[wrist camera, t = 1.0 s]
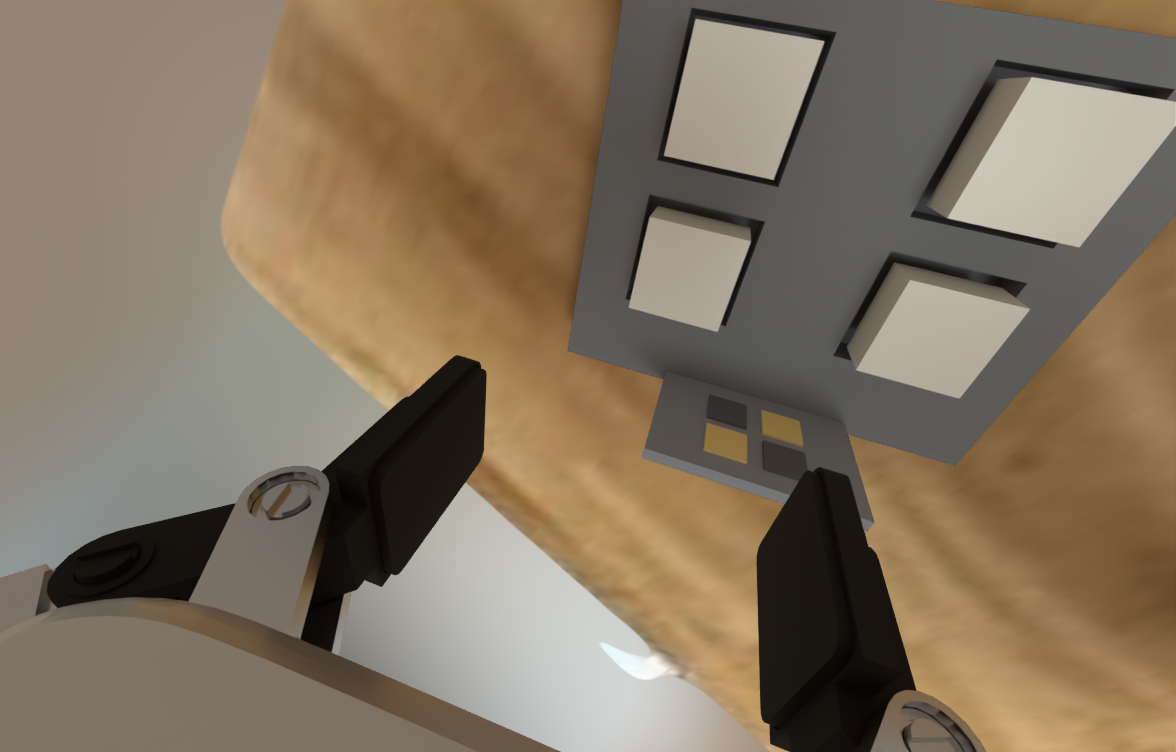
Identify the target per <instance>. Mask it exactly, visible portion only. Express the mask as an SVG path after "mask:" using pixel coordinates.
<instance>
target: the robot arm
mask: <svg viewBox="0 0 1176 752" xmlns="http://www.w3.org/2000/svg"><path fill="white" fill-rule="evenodd" d="M485 402H486V371H485V370H484V369H481V364H480V363H479V362H478V361H475V360H472V359H468V358H465V357H462V356H459V355H456V356H454V357H453V358H452V359H451V360H449V361H448V362H447V363H446V364H445V365H444V366H443V367H442V368H441V369H439V370H438V371H437V372H436V373H435V374H434V375H433V376H432V377H431V378H430V379H428V380H427V381H426V382H425V383H424V384H423V385H422V386H421V387H420V388H419V389H417V390H416V391H415V392H414V393H413V394H412V395H411V396H409V397H405V398H404V399H402V400H401V401H400V402H398V403H397V404H396V405H395V406H394V407H393V408H392V409H391V410H389V411H388V412H387V413H386V414H385V415H384V416H383V417H382V418H381V419H379V420H378V421H377V422H376V423H375V424H374V425H373V426H372V427H371V428H369V429H368V430H367V431H366V432H365V433H364V434H363V435H362V436H360V437H359V438H358V439H357V440H356V441H355V442H354V443H353V444H352V445H350V446H349V447H348V448H347V449H346V450H345V451H344V452H343V453H341V454H340V455H339V456H338V457H337V458H336V459H335V460H334V461H332V463H330V464H329V465H328V466H327V467H326V468H325V469H324V470H322V471H320V470H318V469H315V468H312V467H309V466H291V467H284V468H280V469H277V470H274V471H272V472H269V473H267V474H265V475H263V476H261V477H259V478H257V479H256V480H254V481H253V482H252V483H251V484H250V485H249V486H247V487H246V488H245V490H244V491H243V492H242V494H241V495H240V497H239V498H238V500H237V502H236V503H235V504H230V505H226V506H222V507H218V508H213V509H209V510H205V511H201V512H196V513H192V514H188V515H184V516H179V517H175V518H171V519H167V520H163V521H158V522H154V523H150V524H145V525H141V526H137V527H133V528H129V529H124V530H121V531H117V532H114V533H111V534H108V535H105V536H102V537H100V538H98V539H96V540H94V541H92V542H90V543H88V544H86V545H84V546H83V547H81V548H80V549H78V550H77V551H75V552H74V553H72V554H71V555H69V556H68V557H67V558H66V559H65V560H64V561H63V562H62V563H61V564H60V565H59V566H58V567H57V568H55V569H50V568H49V566H48V565H47V564H44V565H41V566H37V567H34V568H31V569H28V570H24V571H21V572H18V573H15V574H12V575H9V576H5V577H2V578H0V752H560V751H558V750H555V749H553V748H551V747H548V746H546V745H544V744H542V743H539V742H537V741H534V740H532V739H530V738H528V737H526V736H523V735H521V734H519V733H516V732H514V731H512V730H510V729H507V728H505V727H503V726H500V725H498V724H496V723H493V722H491V721H489V720H486V719H484V718H482V717H480V716H477V715H475V714H473V713H471V712H468V711H466V710H463V709H461V708H459V707H457V706H454V705H452V704H450V703H447V702H445V701H443V700H440V699H438V698H436V697H434V696H431V695H429V694H427V693H424V692H422V691H420V690H417V689H415V688H413V687H410V686H408V685H406V684H403V683H401V682H399V681H396V680H394V679H392V678H389V677H387V676H385V675H382V674H380V673H378V672H376V671H373V670H371V669H368V668H366V667H364V666H362V665H359V664H357V663H354V662H352V661H349V660H348V659H345V658H343V657H341V656H339V652H340V647H341V642H342V637H343V632H344V627H345V622H346V617H347V612H348V606H349V601H350V597H351V592H352V591H355V590H357V589H358V588H359V586H360V585H361V584H362V583H363V581H364V580H366V581H368V582H371V583H373V584H376V585H378V586H381V587H382V586H383V585H384V583H385V582H386V580H387V579H388V578H389V576H390V575H391V574H393V575H397V574H399V573H400V572H401V571H402V570H403V568H404V567H405V566H406V564H407V563H408V561H409V560H410V559H411V557H412V556H413V554H414V553H415V552H416V550H417V549H418V548H419V546H420V545H421V543H422V542H423V540H424V539H425V537H426V536H427V535H428V534H429V532H430V531H431V529H432V528H433V527H434V525H435V524H436V522H437V521H438V519H439V518H440V516H441V515H442V514H443V513H444V511H445V510H446V508H447V507H448V506H449V504H450V503H451V501H452V500H453V499H454V497H455V496H456V495H457V493H458V492H459V490H460V489H461V487H462V486H463V485H464V483H465V482H466V481H467V479H468V478H469V476H470V475H471V474H472V472H473V471H474V469H475V468H476V467H477V465H478V464H479V462H480V460H481V458H482V455H483V451H484V429H485ZM757 592H758V630H759V667H760V704H761V716H762V720H763V721H764V722H765V723H768V724H770V744H772V745H774V746H777V747H779V748H782V749H784V750H787V751H789V752H986V750H985V749H984V747H983V745H982V743H981V741H980V740H979V739H978V737H977V736H976V735H975V734H974V732H973V731H972V730H971V729H970V727H969V726H968V725H967V724H966V722H965V721H963V720H962V719H961V718H960V717H959V716H958V715H957V714H956V713H955V712H954V711H953V710H952V709H951V708H949V707H948V706H946V705H945V704H943V703H942V702H940V701H939V700H937V699H936V698H934V697H932V696H930V695H927V694H925V693H922V692H920V691H916V687H915V684H914V680H913V677H912V673H911V670H910V666H909V663H908V660H907V656H906V653H905V649H904V646H903V642H902V639H901V635H900V632H899V628H898V625H897V621H896V618H895V614H894V611H893V608H892V604H891V601H890V597H889V594H888V590H887V587H886V583H885V580H884V576H883V573H882V569H881V566H880V562H879V559H878V557H877V555H876V552H875V551H874V550H873V549H872V548H870V547H868V544H867V540H866V536H865V533H864V529H863V525H862V522H861V518H860V514H859V511H858V507H857V503H856V500H855V496H854V492H853V489H852V485H851V482H850V479H849V477H848V476H847V475H845V474H841V473H838V472H835V471H832V470H828V469H825V468H822V467H818V468H816V469H815V470H814V472H812V471H809V470H807V471H806V472H805V473H804V474H803V475H802V477H801V479H800V480H799V482H798V484H797V485H796V487H795V488H794V490H793V492H792V493H791V495H790V496H789V498H788V500H787V501H786V503H785V505H784V506H783V508H782V509H781V511H780V513H779V514H778V516H777V518H776V519H775V521H774V522H773V524H772V526H771V527H770V529H769V531H768V532H767V534H766V535H765V537H764V539H763V540H762V542H761V544H760V546H759V549H758V553H757Z"/></svg>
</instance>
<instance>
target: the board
mask: <svg viewBox="0 0 1176 752" xmlns="http://www.w3.org/2000/svg"><path fill="white" fill-rule="evenodd" d="M696 19H699V20H705V21H711V22H716V23H722V24H728V25H734V26H740V27H745V28H751V29H757V30H763V31H768V32H774V33H780V34H786V35H792V36H797V37H803V38H809V39H815V40H821V41H825V42H824V45H823V47H822V50H821V53H820V55H819V58H818V61H817V64H816V66H815V69H814V72H813V74H812V77H811V80H810V83H809V85H808V88H807V91H806V93H805V96H804V99H803V102H802V104H801V107H800V110H799V112H798V115H797V118H796V121H795V123H794V126H793V129H792V131H791V134H790V137H789V140H788V142H787V145H786V148H785V150H784V153H783V156H782V159H781V161H780V164H779V167H778V169H777V172H776V175H775V178H774V180H772V179H767V178H762V177H758V176H753V175H749V174H744V173H740V172H735V171H731V170H726V169H722V168H717V167H713V166H708V165H704V164H699V163H695V162H690V161H685V160H681V159H676V158H672V157H667V156H664V153H665V149H666V145H667V140H668V136H669V132H670V127H671V123H672V119H673V114H674V110H675V106H676V102H677V97H678V93H679V89H680V84H681V80H682V76H683V71H684V67H685V63H686V59H687V54H688V50H689V46H690V41H691V37H692V33H693V28H694V24H695V20H696ZM1024 77H1035V78H1041V79H1046V80H1052V81H1058V82H1064V83H1069V84H1075V85H1081V86H1087V87H1093V88H1098V89H1104V90H1110V91H1116V92H1122V93H1127V94H1133V95H1139V96H1145V97H1150V98H1156V99H1162V100H1168V101H1174V102H1176V38H1171V37H1164V36H1158V35H1152V34H1145V33H1139V32H1132V31H1126V30H1119V29H1113V28H1106V27H1100V26H1093V25H1087V24H1080V23H1074V22H1067V21H1061V20H1054V19H1048V18H1041V17H1035V16H1029V15H1022V14H1016V13H1009V12H1003V11H996V10H990V9H983V8H977V7H970V6H964V5H957V4H951V3H944V2H938V1H931V0H623V2H622V9H621V15H620V22H619V28H618V34H617V41H616V47H615V53H614V60H613V66H612V72H611V79H610V85H609V92H608V98H607V104H606V111H605V117H604V123H603V130H602V136H601V142H600V149H599V155H598V161H597V168H596V174H595V181H594V187H593V193H592V200H591V206H590V212H589V219H588V225H587V231H586V238H585V244H584V250H583V257H582V263H581V270H580V276H579V282H578V289H577V295H576V301H575V308H574V314H573V320H572V327H571V333H570V340H569V346H568V351H569V352H573V353H576V354H580V355H583V356H586V357H590V358H593V359H596V360H600V361H603V362H607V363H610V364H613V365H617V366H620V367H623V368H627V369H630V370H634V371H637V372H640V373H644V374H647V375H650V376H654V377H657V378H661V379H664V377H665V374H666V371H668V372H671V373H675V374H678V375H681V376H685V377H688V378H692V379H695V380H698V381H702V382H705V383H709V384H712V385H716V386H719V387H722V388H726V389H729V390H733V391H736V392H739V393H743V394H746V395H750V396H753V397H756V398H760V399H763V400H767V401H770V402H773V403H777V404H780V405H784V406H787V407H791V408H794V409H797V410H801V411H804V412H808V413H811V414H814V415H818V416H821V417H825V418H828V419H831V420H835V421H838V422H842V423H844V424H845V427H846V430H847V434H850V435H853V436H856V437H860V438H863V439H866V440H870V441H873V442H877V443H880V444H883V445H887V446H890V447H893V448H897V449H900V450H904V451H907V452H910V453H914V454H917V455H920V456H924V457H927V458H931V459H934V460H937V461H941V462H944V463H947V464H951V465H954V466H955V465H956V464H957V463H958V461H959V460H960V459H961V458H962V457H963V456H964V455H965V453H966V452H967V451H968V450H969V449H970V448H971V447H972V446H973V444H974V443H975V442H976V441H977V440H978V439H979V438H980V436H981V435H982V434H983V433H984V432H985V431H986V430H987V428H988V427H989V426H990V425H991V424H992V423H993V422H994V420H995V419H996V418H997V417H998V416H999V415H1000V414H1001V413H1002V411H1003V410H1004V409H1005V408H1006V407H1007V406H1008V405H1009V403H1010V402H1011V401H1012V400H1013V399H1014V398H1015V397H1016V395H1017V394H1018V393H1019V392H1020V391H1021V390H1022V389H1023V387H1024V386H1025V385H1026V384H1027V383H1028V382H1029V381H1030V379H1031V378H1032V377H1033V376H1034V375H1035V374H1036V373H1037V372H1038V370H1039V369H1040V368H1041V367H1042V366H1043V365H1044V364H1045V362H1046V361H1047V360H1048V359H1049V358H1050V357H1051V356H1052V354H1053V353H1054V352H1055V351H1056V350H1057V349H1058V348H1059V346H1060V345H1061V344H1062V343H1063V342H1064V341H1065V340H1066V339H1067V337H1068V336H1069V335H1070V334H1071V333H1072V332H1073V331H1074V329H1075V328H1076V327H1077V326H1078V325H1079V324H1080V323H1081V321H1082V320H1083V319H1084V318H1085V317H1086V316H1087V315H1088V313H1089V312H1090V311H1091V310H1092V309H1093V308H1094V307H1095V306H1096V304H1097V303H1098V302H1099V301H1100V300H1101V299H1102V298H1103V296H1104V295H1105V294H1106V293H1107V292H1108V291H1109V290H1110V288H1111V287H1112V286H1113V285H1114V284H1115V283H1116V282H1117V280H1118V279H1119V278H1120V277H1121V276H1122V275H1123V274H1124V272H1125V271H1126V270H1127V269H1128V268H1129V267H1130V266H1131V265H1132V263H1133V262H1134V261H1135V260H1136V259H1137V258H1138V257H1139V255H1140V254H1141V253H1142V252H1143V251H1144V250H1145V249H1146V247H1147V246H1148V245H1149V244H1150V243H1151V242H1152V241H1153V239H1154V238H1155V237H1156V236H1157V235H1158V234H1159V233H1160V232H1161V230H1162V229H1163V228H1164V227H1165V226H1166V225H1167V224H1168V222H1169V221H1170V220H1171V219H1172V218H1173V217H1174V216H1175V214H1176V126H1175V127H1174V129H1173V130H1172V131H1171V132H1170V134H1169V135H1168V136H1167V137H1166V139H1165V140H1164V141H1163V143H1162V144H1161V145H1160V146H1159V148H1158V149H1157V150H1156V151H1155V153H1154V154H1153V155H1152V156H1151V158H1150V159H1149V160H1148V161H1147V163H1146V164H1145V165H1144V167H1143V168H1142V169H1141V170H1140V172H1139V173H1138V174H1137V175H1136V177H1135V178H1134V179H1133V180H1132V182H1131V183H1130V184H1129V185H1128V187H1127V188H1126V189H1125V190H1124V192H1123V193H1122V194H1121V196H1120V197H1119V198H1118V199H1117V201H1116V202H1115V203H1114V204H1113V206H1112V207H1111V208H1110V209H1109V211H1108V212H1107V213H1106V214H1105V216H1104V217H1103V218H1102V220H1101V221H1100V222H1099V223H1098V225H1097V226H1096V227H1095V228H1094V230H1093V231H1092V232H1091V233H1090V235H1089V236H1088V237H1087V238H1086V240H1085V241H1084V242H1083V243H1082V245H1081V246H1080V247H1075V246H1070V245H1066V244H1061V243H1057V242H1052V241H1048V240H1043V239H1039V238H1034V237H1030V236H1025V235H1021V234H1016V233H1012V232H1007V231H1002V230H998V229H993V228H989V227H984V226H980V225H975V224H971V223H966V222H962V221H957V220H953V219H948V218H946V217H944V216H943V215H941V214H939V213H938V212H936V211H935V210H933V209H931V208H930V207H928V206H926V205H927V203H928V202H929V200H930V198H931V196H932V195H933V193H934V191H935V189H936V187H937V186H938V184H939V182H940V180H941V179H942V177H943V175H944V173H945V172H946V170H947V168H948V166H949V165H950V163H951V161H952V159H953V157H954V156H955V154H956V152H957V150H958V149H959V147H960V145H961V143H962V142H963V140H964V138H965V136H966V134H967V133H968V131H969V129H970V127H971V126H972V124H973V122H974V120H975V119H976V117H977V115H978V113H979V111H980V110H981V108H982V106H983V104H984V103H985V101H986V99H987V97H988V96H989V94H990V92H991V90H992V88H993V87H994V85H995V83H996V81H997V80H998V79H1006V78H1024ZM658 206H661V207H665V208H669V209H673V210H677V211H682V212H686V213H690V214H694V215H698V216H703V217H707V218H711V219H715V220H719V221H724V222H728V223H732V224H736V225H740V226H745V227H749V228H750V231H751V243H750V245H749V248H748V251H747V254H746V256H745V259H744V262H743V264H742V267H741V270H740V273H739V275H738V278H737V281H736V283H735V286H734V289H733V292H732V294H731V297H730V300H729V302H728V305H727V308H726V311H725V313H724V316H723V319H722V321H721V324H720V327H719V329H718V332H715V331H712V330H708V329H704V328H701V327H697V326H693V325H690V324H686V323H683V322H679V321H675V320H672V319H668V318H664V317H661V316H657V315H654V314H650V313H646V312H643V311H639V310H635V309H632V308H629V304H630V299H631V295H632V291H633V287H634V282H635V278H636V274H637V269H638V265H639V261H640V256H641V252H642V248H643V244H644V239H645V235H646V231H647V226H648V222H649V218H650V216H651V214H652V213H653V212H654V211H655V209H656V208H657V207H658ZM894 262H896V263H900V264H904V265H908V266H913V267H917V268H921V269H925V270H929V271H934V272H938V273H942V274H946V275H950V276H955V277H959V278H963V279H967V280H971V281H976V282H980V283H984V284H988V285H992V286H997V287H1001V288H1003V289H1004V290H1006V291H1007V292H1008V293H1010V294H1011V295H1012V296H1014V297H1015V298H1016V299H1018V300H1019V301H1020V302H1022V303H1023V304H1024V305H1026V306H1027V307H1028V308H1030V310H1029V312H1028V313H1027V314H1026V315H1025V317H1024V318H1023V319H1022V320H1021V322H1020V323H1019V324H1018V326H1017V327H1016V328H1015V329H1014V331H1013V332H1012V333H1011V334H1010V336H1009V337H1008V338H1007V339H1006V341H1005V342H1004V343H1003V344H1002V346H1001V347H1000V348H999V350H998V351H997V352H996V353H995V355H994V356H993V357H992V358H991V360H990V361H989V362H988V363H987V365H986V366H985V367H984V368H983V370H982V371H981V372H980V373H979V375H978V376H977V377H976V379H975V380H974V381H973V382H972V384H971V385H970V386H969V387H968V389H967V390H966V391H965V392H964V394H963V395H962V396H961V397H960V399H959V398H955V397H951V396H948V395H944V394H940V393H937V392H933V391H930V390H926V389H922V388H919V387H915V386H911V385H908V384H904V383H900V382H897V381H893V380H890V379H886V378H882V377H879V376H875V375H871V374H868V373H864V372H861V371H857V370H856V369H855V367H854V364H853V362H852V359H851V357H850V354H849V352H848V349H847V345H848V343H849V341H850V339H851V338H852V336H853V334H854V332H855V331H856V329H857V327H858V325H859V324H860V322H861V320H862V318H863V317H864V315H865V313H866V311H867V309H868V308H869V306H870V304H871V302H872V301H873V299H874V297H875V295H876V294H877V292H878V290H879V288H880V286H881V285H882V283H883V281H884V279H885V278H886V276H887V274H888V272H889V271H890V269H891V267H892V265H893V263H894Z"/></svg>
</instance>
